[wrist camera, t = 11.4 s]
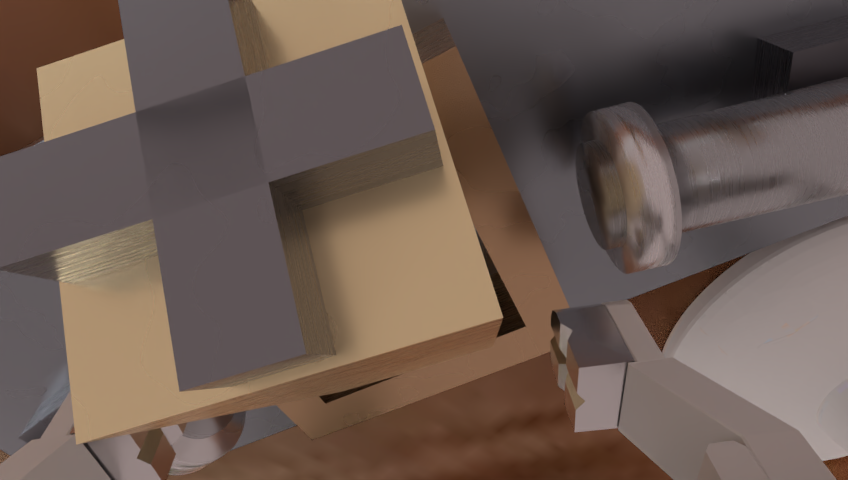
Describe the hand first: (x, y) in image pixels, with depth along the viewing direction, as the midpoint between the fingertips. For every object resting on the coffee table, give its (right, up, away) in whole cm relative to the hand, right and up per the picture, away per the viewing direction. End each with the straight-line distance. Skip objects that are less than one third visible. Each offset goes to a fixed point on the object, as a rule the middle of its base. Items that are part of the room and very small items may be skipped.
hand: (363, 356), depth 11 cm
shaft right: (+9, +6, +2) cm, 11 cm away
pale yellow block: (+1, +1, +3) cm, 3 cm away
